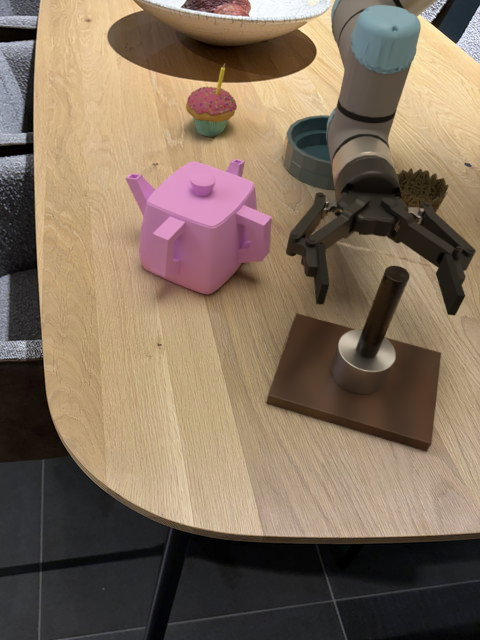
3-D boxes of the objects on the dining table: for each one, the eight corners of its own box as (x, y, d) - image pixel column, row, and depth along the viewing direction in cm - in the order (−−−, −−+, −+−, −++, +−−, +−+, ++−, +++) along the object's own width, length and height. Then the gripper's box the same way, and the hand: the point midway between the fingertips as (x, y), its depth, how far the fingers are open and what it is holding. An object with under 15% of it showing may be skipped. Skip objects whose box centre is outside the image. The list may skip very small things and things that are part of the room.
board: (436, 360, 74) (441, 352, 73) (426, 451, 65) (431, 443, 64) (294, 321, 77) (296, 312, 76) (266, 403, 68) (268, 395, 67)
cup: (384, 209, 94) (400, 162, 88) (432, 221, 92) (451, 175, 86) (375, 236, 89) (391, 188, 83) (425, 249, 88) (445, 202, 82)
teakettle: (153, 306, 77) (153, 226, 68) (125, 227, 87) (121, 148, 78) (277, 286, 81) (293, 207, 71) (235, 212, 91) (245, 135, 82)
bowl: (380, 154, 104) (388, 127, 100) (366, 202, 95) (375, 173, 91) (293, 135, 107) (298, 107, 103) (272, 180, 97) (276, 151, 94)
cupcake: (242, 129, 107) (250, 59, 98) (216, 148, 103) (222, 76, 93) (202, 113, 110) (206, 44, 101) (175, 131, 105) (177, 60, 96)
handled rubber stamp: (389, 361, 71) (433, 261, 60) (381, 401, 67) (427, 303, 56) (335, 346, 72) (369, 245, 61) (325, 384, 68) (359, 285, 57)
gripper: (454, 216, 78) (496, 335, 64) (261, 200, 77) (262, 316, 64) (477, 163, 72) (529, 282, 58) (269, 146, 72) (272, 261, 58)
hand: (389, 300), depth 61 cm, fingers open, 13 cm apart
